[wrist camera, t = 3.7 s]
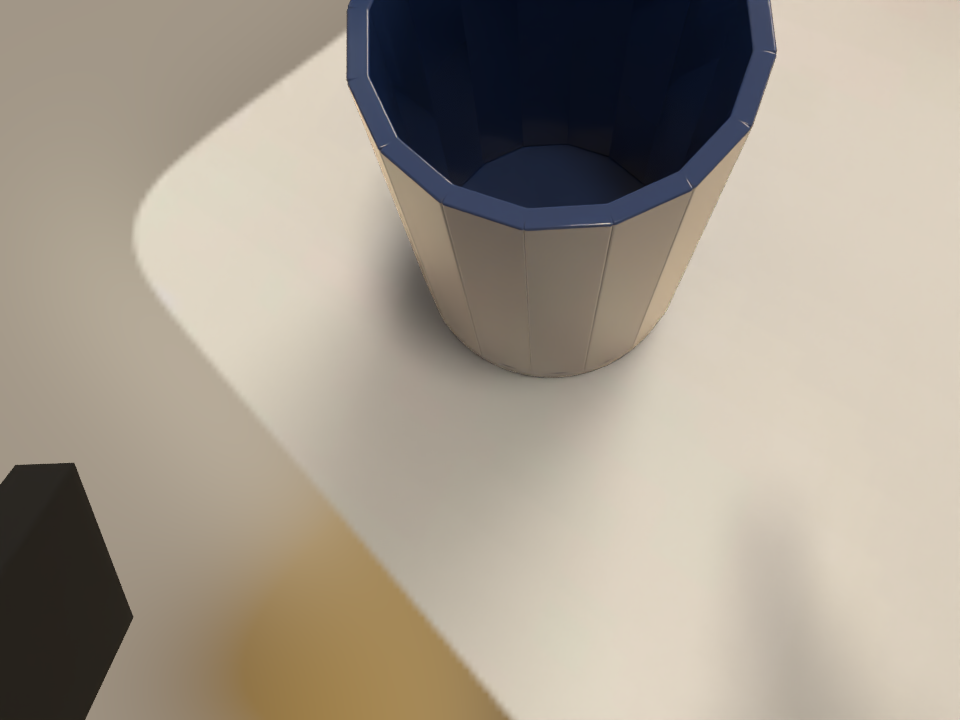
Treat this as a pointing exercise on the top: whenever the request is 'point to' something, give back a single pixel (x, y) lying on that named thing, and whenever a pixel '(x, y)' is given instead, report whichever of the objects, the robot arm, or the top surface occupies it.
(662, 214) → the cup
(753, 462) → the top surface
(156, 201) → the top surface
